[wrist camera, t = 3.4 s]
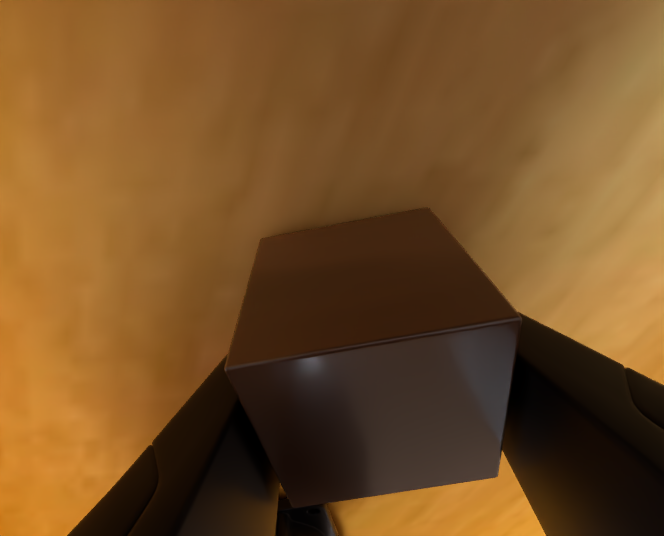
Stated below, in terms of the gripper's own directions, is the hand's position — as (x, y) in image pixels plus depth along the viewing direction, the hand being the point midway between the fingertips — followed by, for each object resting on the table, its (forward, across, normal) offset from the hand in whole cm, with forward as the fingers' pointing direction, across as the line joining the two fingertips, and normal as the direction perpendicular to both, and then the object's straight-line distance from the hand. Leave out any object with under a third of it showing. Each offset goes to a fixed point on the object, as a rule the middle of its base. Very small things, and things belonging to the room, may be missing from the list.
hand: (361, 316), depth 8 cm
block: (+1, 0, 0) cm, 1 cm away
